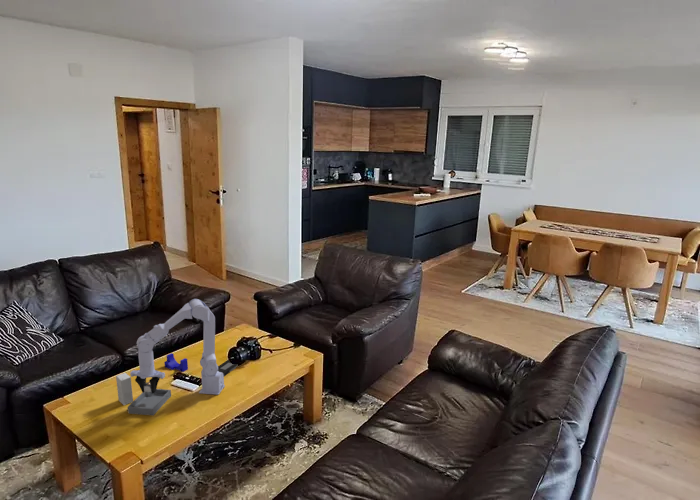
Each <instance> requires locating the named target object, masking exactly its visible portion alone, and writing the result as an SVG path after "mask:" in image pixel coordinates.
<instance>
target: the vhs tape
mask: <svg viewBox="0 0 700 500" xmlns="http://www.w3.org/2000/svg"><path fill="white" fill-rule="evenodd" d="M237 366H238V364H232V363H231V362H230V361H229V359H227V360H225V361H224V362H223V363H221V364H219V365H218V371H219V372H222V373H223V375H224V377H225V376H227V375H229V374H230V373H231V372H232V371H234V370H235V369H236V367H237ZM238 367H239V366H238ZM238 367H237V368H238Z"/></svg>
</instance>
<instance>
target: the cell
mask: <svg viewBox="0 0 700 500" xmlns="http://www.w3.org/2000/svg"><path fill="white" fill-rule="evenodd" d="M143 386H144V396H145V397H152V396H153V395H154V393H152V388H151V384H150V382H149V381H148V382H147V381H146V383H145V384H144V385H143Z"/></svg>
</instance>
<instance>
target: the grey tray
mask: <svg viewBox="0 0 700 500" xmlns="http://www.w3.org/2000/svg"><path fill="white" fill-rule="evenodd" d="M171 397H172V390H171V389H163V388H157V389H156V392H155V393H154V395H153V396H152V397H145V396H144V393H142V392H141V393H140V394H139V396H137V398H135V399H133V402H131V403H129V405H128V406H127V413H128V414H130V415H131V414H132V415H143V416H155V414H156V413H157V412H158V411H159V410H161V408H162V407H163V406H164V404H165V403H166V402H167V401H168V400H169V399H170V398H171Z"/></svg>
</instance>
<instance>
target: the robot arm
mask: <svg viewBox="0 0 700 500" xmlns="http://www.w3.org/2000/svg"><path fill="white" fill-rule="evenodd" d="M193 318H194V319H198V320H200V321H202V322H203V333H202V334H203V337H202V338H203V340H202V341H203V345H202V347H203V351H202V354H201V358H200V361H199V364H200V366H201V367H202V369H201V372H200V373H201V376H200V377H201V389H200V390H199V392H198V394H202V395H203V394H204V395H205V394H206V395H220V393H221V392H222V390H223V389H224V388H225V386H226V385H225V378H224V377H225V376H224V375H223V373H222V372H219V371H218V366H219V365H218V364H217V358H216V353H215V352H216V345H215V344H216V316H215V315H214V313H213V312H212V311H211V309H210V308H209V306H207V305H206V303H205V302H204V301H202V300H201V299H198V298H193V299H191V300H189V302H187V303H185V304H184V305H183V306H182V308H180V309H179V310H178V311H177V312H175V314H173V315H172V316H171V317H169V319H167V320H166V321H165V322H164V323H159V324H155V325H153V328H152V329H151V330H149V331H148V332H145V333H144V334H143V335H141V336H139V337H138V338H137V341H136V343H135V344H136V345H137V349H138V351H137V352H138V363H139V364H138V365H139V366H138V367H139V369H138V370H135V369H134V370H131V371H130V375H129V376H130V377H131V378H133V377H136V378H135V379H134V381H135V383H136V384H137V385H138V386H139V388H140V390H141V394H142V393H144V386H143V385H144V384H145V383H147V378H150V379H149V381H148V382H150V384H151V388H152V393H155V392H156V389H158V388H157V387H158V384H159V381H160V379H161V380H163V379H164V378H165V377H166V373H165V372H164V371H162V372H161V371H159V370H156V369H155V360H154V351H153V349H154V345H156V344H157V343H158V342H160V341H161V340H162V339H163V338H165V337H166V336H167V335H169V331H170V330H171V329H172V328H173V327H175V326H176V325H178V324H179V323H181V322H182V321H183V320H185V319H187V320H193Z"/></svg>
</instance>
